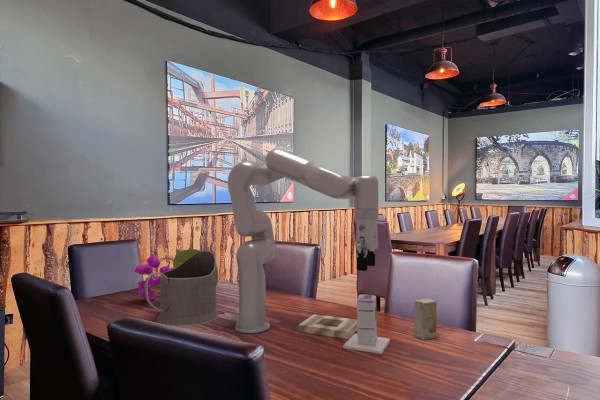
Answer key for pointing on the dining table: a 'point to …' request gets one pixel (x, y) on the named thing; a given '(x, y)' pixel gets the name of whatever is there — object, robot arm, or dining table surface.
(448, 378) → the dining table surface
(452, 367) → the dining table surface
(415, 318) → the skincare box
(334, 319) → the frame
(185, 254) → the purple flowering plant
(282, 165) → the robot arm
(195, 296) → the pitcher
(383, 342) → the plate
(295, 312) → the dining table surface
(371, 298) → the syrup box
